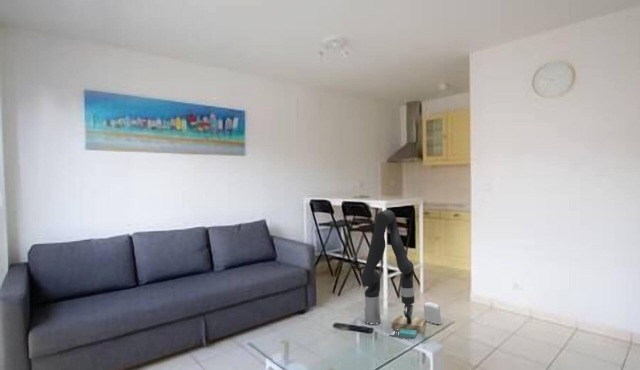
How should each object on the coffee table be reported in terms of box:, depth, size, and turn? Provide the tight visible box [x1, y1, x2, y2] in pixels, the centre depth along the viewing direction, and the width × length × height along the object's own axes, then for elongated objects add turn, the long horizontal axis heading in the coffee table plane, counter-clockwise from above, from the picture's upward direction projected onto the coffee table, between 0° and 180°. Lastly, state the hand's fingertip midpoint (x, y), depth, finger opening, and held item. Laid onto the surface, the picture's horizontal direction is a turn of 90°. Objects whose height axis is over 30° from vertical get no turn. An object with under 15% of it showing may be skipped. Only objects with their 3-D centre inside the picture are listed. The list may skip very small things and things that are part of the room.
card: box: [399, 329, 418, 339], centre depth 205 cm, size 9×6×2 cm, turn 62°
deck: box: [391, 314, 427, 334], centre depth 217 cm, size 18×12×4 cm, turn 62°
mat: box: [388, 329, 413, 341], centre depth 207 cm, size 13×10×1 cm
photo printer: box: [423, 301, 442, 325], centre depth 222 cm, size 10×4×12 cm, turn 39°
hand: (409, 323), depth 211 cm, fingers closed
